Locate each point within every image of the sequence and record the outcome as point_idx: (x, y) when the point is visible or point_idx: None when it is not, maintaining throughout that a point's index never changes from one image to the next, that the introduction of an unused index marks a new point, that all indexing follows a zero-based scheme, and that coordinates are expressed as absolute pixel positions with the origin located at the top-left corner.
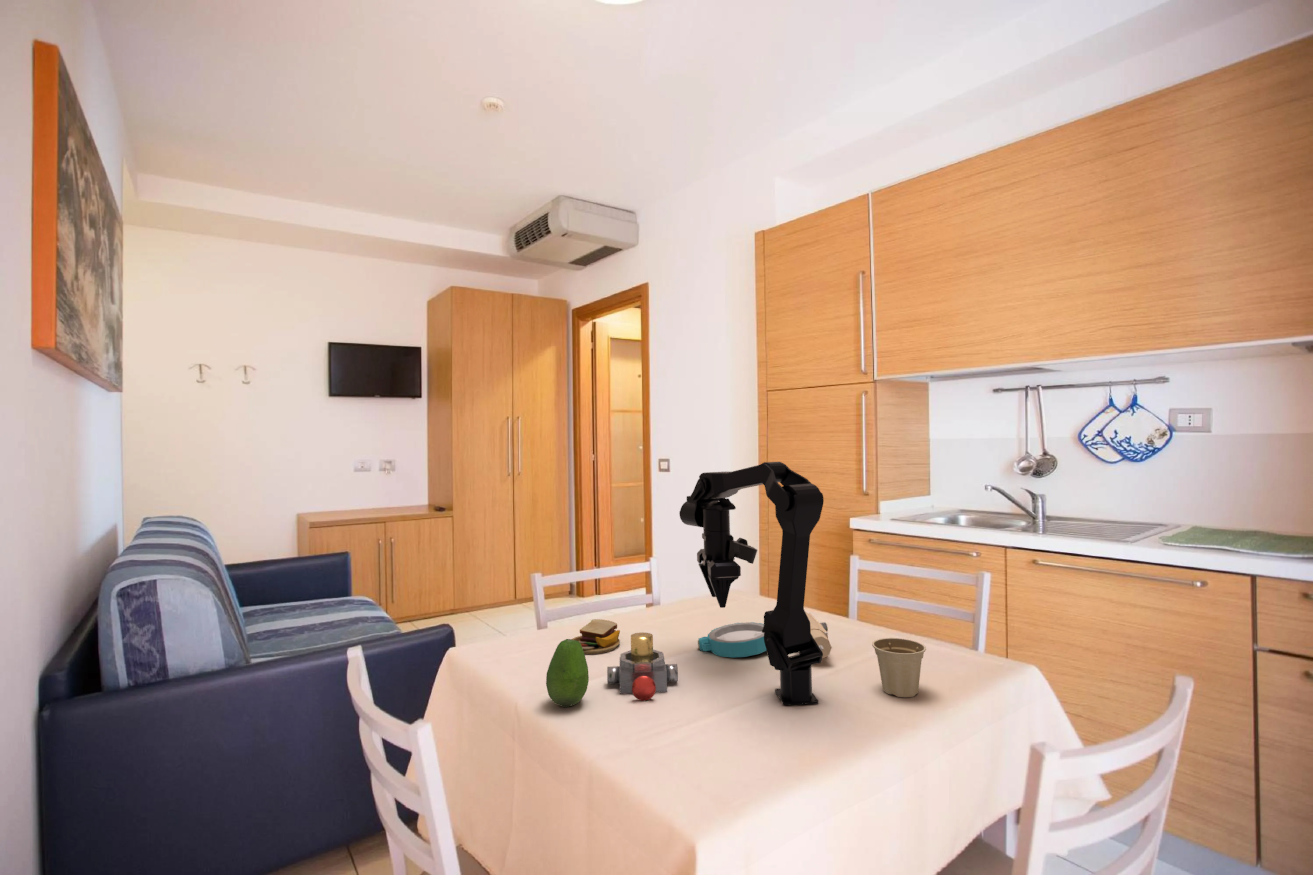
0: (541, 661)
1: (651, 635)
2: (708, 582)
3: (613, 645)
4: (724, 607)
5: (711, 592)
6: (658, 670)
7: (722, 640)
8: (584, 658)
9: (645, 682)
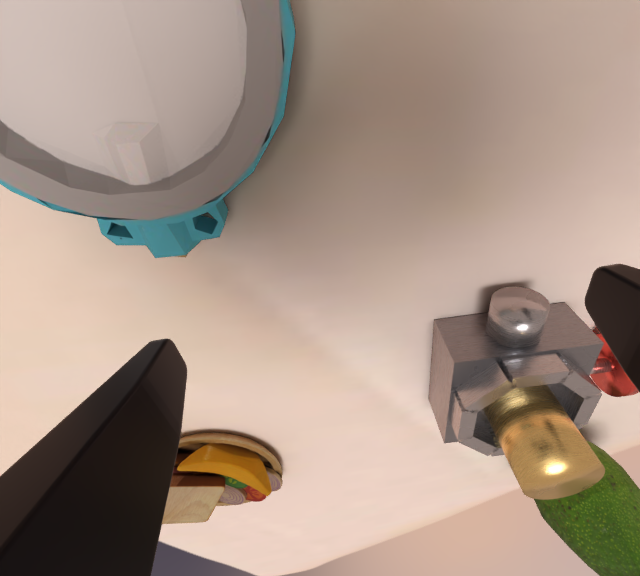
0: (325, 505)
1: (572, 462)
2: (144, 542)
3: (235, 444)
4: (611, 267)
5: (182, 410)
6: (587, 361)
7: (229, 154)
8: (636, 523)
9: None
